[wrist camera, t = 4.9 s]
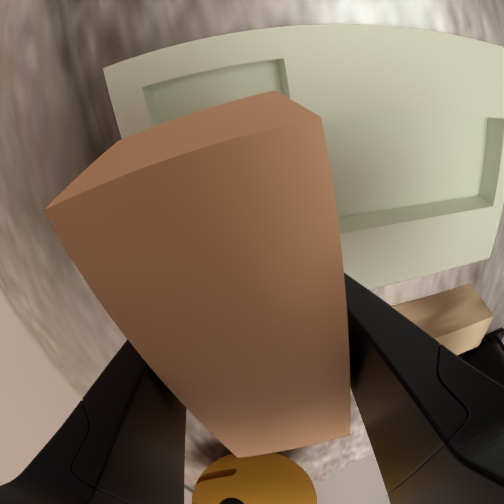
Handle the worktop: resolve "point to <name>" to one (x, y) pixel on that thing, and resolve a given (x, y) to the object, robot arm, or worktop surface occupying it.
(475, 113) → the jig
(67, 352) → the worktop surface
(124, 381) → the robot arm
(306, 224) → the orange rectangular block
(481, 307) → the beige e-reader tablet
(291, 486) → the toy
